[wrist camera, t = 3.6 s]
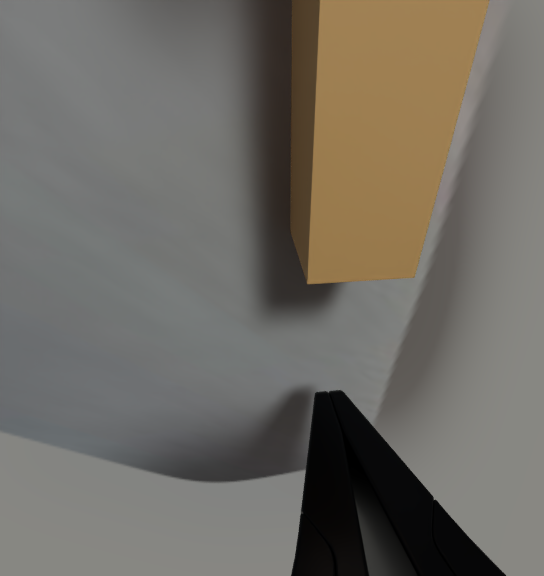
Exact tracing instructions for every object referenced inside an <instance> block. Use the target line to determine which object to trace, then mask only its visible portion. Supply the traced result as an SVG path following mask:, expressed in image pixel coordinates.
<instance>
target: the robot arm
mask: <svg viewBox="0 0 544 576" xmlns="http://www.w3.org/2000/svg"><path fill="white" fill-rule="evenodd" d="M291 576H506V575H505V574H504V573H503V572H502V571H501V570H500V569H499V568H498V567H497V566H496V565H495V564H494V563H493V562H492V561H491V560H490V559H489V558H488V557H487V555H485V553H484V552H483V551H482V550H481V549H480V548H479V547H478V546H477V545H476V544H475V543H474V542H473V541H472V540H471V539H470V538H469V537H468V536H467V535H466V533H465V532H464V531H463V530H462V529H461V528H460V527H459V526H458V525H457V523H455V521H454V520H453V519H452V518H451V517H450V516H449V515H448V513H447V512H446V511H445V510H444V509H443V507H442V506H441V505H440V504H439V503H438V501H437V500H434V498H433V496H432V495H431V494H430V492H429V491H428V490H427V489H426V488H425V487H424V485H423V484H422V483H421V482H420V481H419V480H418V478H417V477H416V476H415V475H414V474H413V473H412V471H411V470H410V469H409V468H408V467H407V465H406V464H405V463H404V462H403V461H402V460H401V458H399V456H398V455H397V454H396V453H395V451H394V450H393V449H392V448H391V447H390V446H389V444H388V443H387V442H386V441H385V440H384V439H383V437H381V435H380V434H379V433H378V432H377V431H376V429H375V428H374V427H373V426H372V425H371V423H370V422H369V421H368V420H367V419H366V418H365V416H364V415H363V414H362V413H361V412H360V411H359V409H358V408H357V407H356V406H355V405H354V404H353V402H352V401H351V400H350V399H349V398H348V397H347V395H346V394H345V393H344V392H343V391H341V390H336V391H329V393H328V392H326V391H324V392H316V393H315V397H314V405H313V414H312V422H311V431H310V439H309V448H308V457H307V465H306V474H305V483H304V491H303V500H302V508H301V516H300V524H299V532H298V539H297V546H296V553H295V559H294V564H293V569H292V574H291Z"/></svg>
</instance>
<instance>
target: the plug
mask: <svg viewBox="0 0 544 576" xmlns="http://www.w3.org/2000/svg"><path fill="white" fill-rule="evenodd" d="M488 4H489V0H292V70H291V214H290V232H291V235H292V238H293V241H294V244H295V247H296V251H297V254H298V257H299V260H300V263H301V266H302V269H303V272H304V275H305V278H306V281H307V284H320V283H336V282H352V281H368V280H384V279H400V278H414V277H415V274H416V270H417V266H418V263H419V259H420V255H421V251H422V248H423V244H424V240H425V237H426V233H427V229H428V226H429V222H430V218H431V215H432V211H433V207H434V203H435V200H436V196H437V192H438V189H439V185H440V181H441V178H442V174H443V170H444V167H445V163H446V159H447V155H448V152H449V148H450V144H451V141H452V137H453V133H454V130H455V126H456V122H457V119H458V115H459V111H460V107H461V104H462V100H463V96H464V93H465V89H466V85H467V82H468V78H469V74H470V71H471V67H472V63H473V59H474V56H475V52H476V48H477V45H478V41H479V37H480V34H481V30H482V26H483V23H484V19H485V15H486V11H487V8H488Z"/></svg>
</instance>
